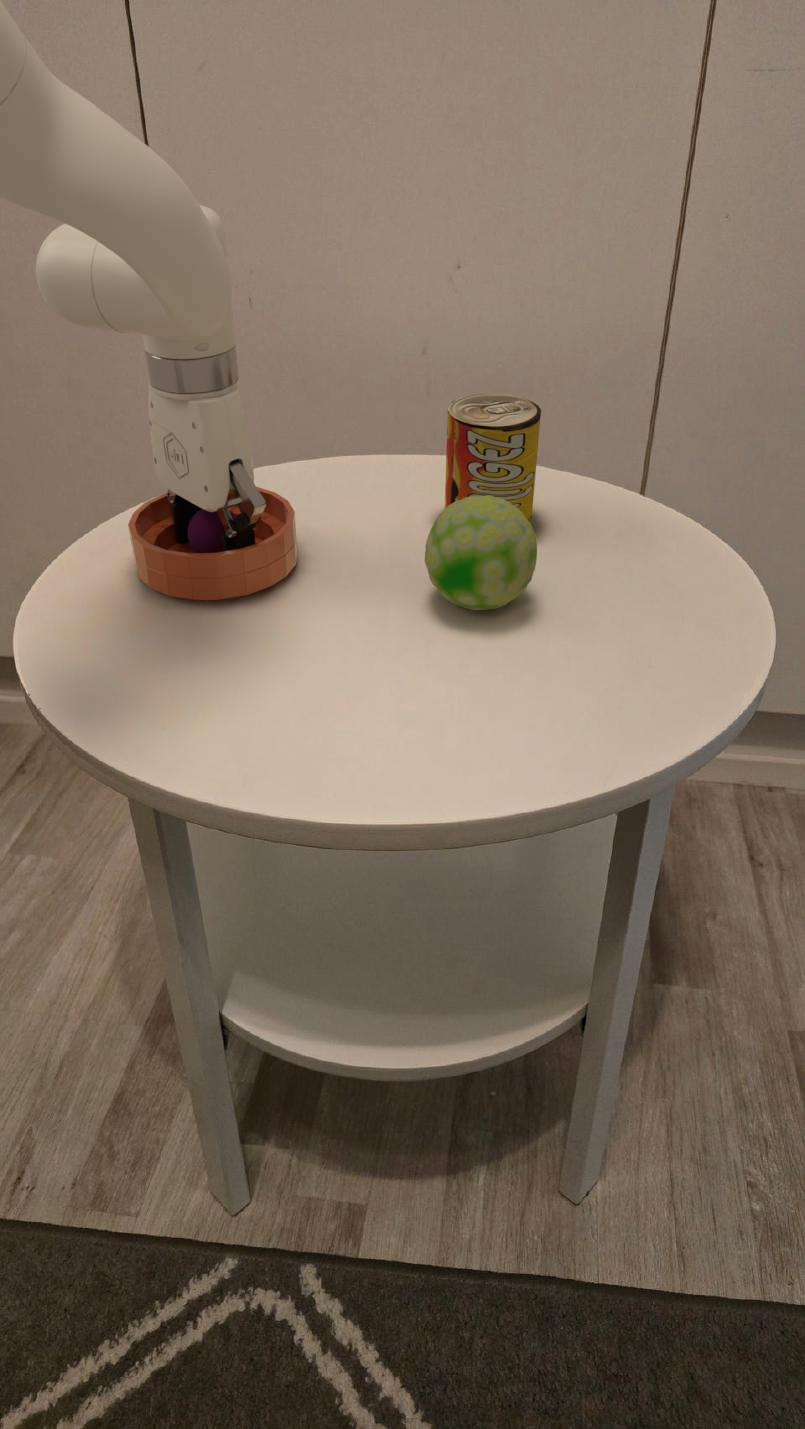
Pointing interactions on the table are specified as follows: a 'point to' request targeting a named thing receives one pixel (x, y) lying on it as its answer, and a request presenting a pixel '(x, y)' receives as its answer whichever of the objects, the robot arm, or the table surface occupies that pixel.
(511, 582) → the decorative ball
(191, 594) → the bowl
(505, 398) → the beverage can
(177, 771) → the table surface
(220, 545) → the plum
